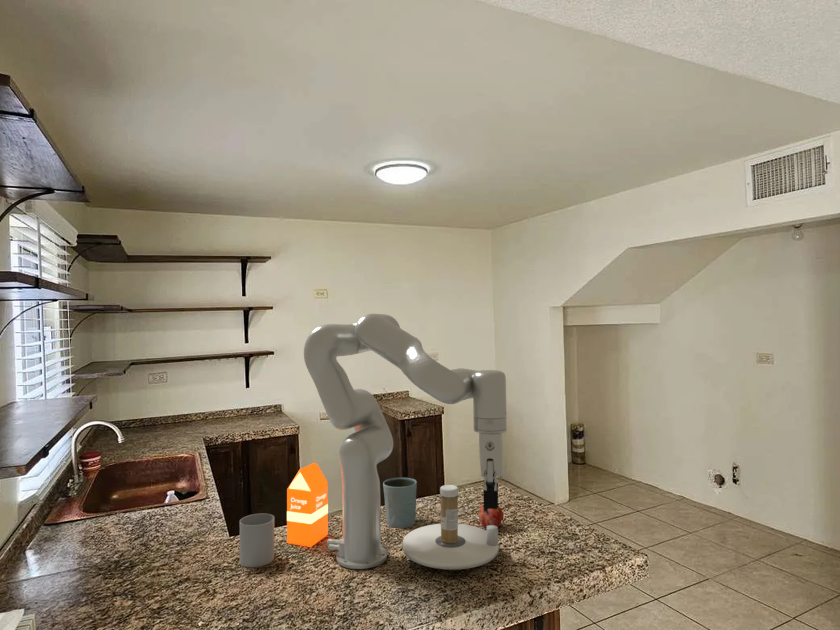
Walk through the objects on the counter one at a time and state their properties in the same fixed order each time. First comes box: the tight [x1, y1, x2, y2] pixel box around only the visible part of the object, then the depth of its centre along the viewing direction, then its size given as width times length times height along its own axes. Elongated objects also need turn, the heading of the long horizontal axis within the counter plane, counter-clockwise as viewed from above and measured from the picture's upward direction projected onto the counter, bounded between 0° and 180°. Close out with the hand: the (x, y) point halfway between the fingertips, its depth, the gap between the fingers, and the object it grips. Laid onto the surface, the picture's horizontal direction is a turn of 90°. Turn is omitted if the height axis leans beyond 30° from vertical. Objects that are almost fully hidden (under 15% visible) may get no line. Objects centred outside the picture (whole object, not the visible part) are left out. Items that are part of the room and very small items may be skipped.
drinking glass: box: [382, 477, 418, 529], centre depth 153 cm, size 10×10×12 cm
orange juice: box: [286, 461, 329, 548], centre depth 141 cm, size 8×9×20 cm
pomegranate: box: [478, 504, 505, 528], centre depth 148 cm, size 7×7×10 cm
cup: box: [239, 513, 275, 568], centre depth 128 cm, size 8×8×10 cm
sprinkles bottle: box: [439, 484, 459, 543], centre depth 129 cm, size 5×5×13 cm
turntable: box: [402, 523, 499, 570], centre depth 129 cm, size 24×24×8 cm
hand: (491, 503), depth 117 cm, fingers open, 5 cm apart
